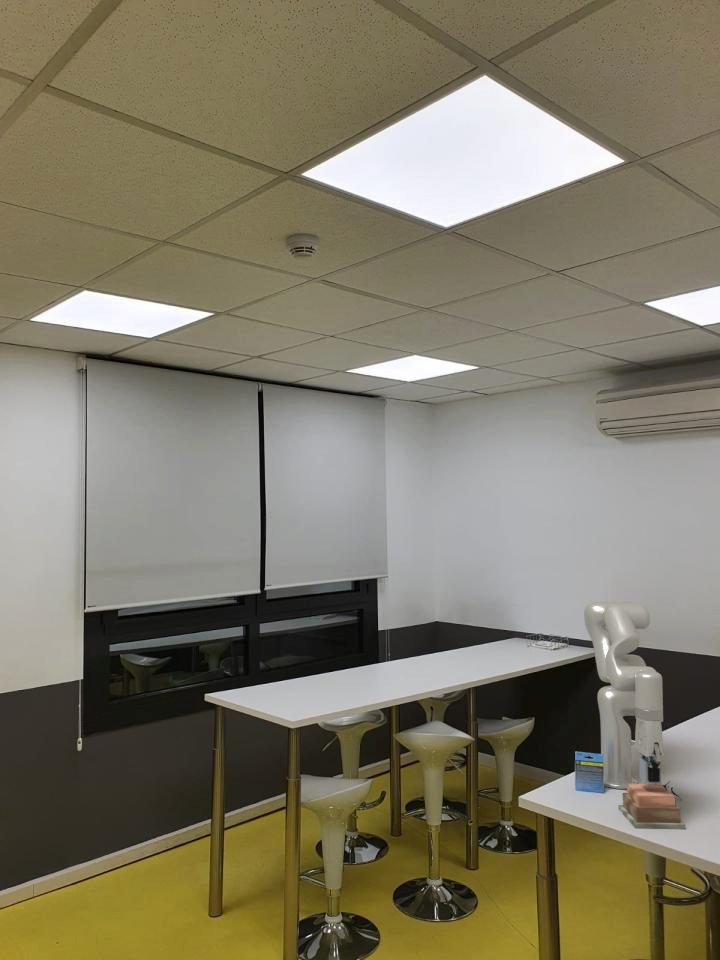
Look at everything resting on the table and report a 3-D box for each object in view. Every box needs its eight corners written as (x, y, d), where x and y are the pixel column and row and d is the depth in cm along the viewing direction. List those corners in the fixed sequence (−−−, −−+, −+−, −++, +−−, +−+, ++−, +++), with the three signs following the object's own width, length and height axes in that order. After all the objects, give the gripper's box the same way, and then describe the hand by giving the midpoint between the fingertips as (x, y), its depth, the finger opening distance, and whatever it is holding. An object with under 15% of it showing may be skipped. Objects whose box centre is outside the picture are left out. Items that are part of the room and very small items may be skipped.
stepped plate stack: (618, 809, 219) (618, 781, 220) (665, 810, 219) (665, 782, 219) (635, 828, 205) (634, 798, 206) (685, 829, 205) (684, 799, 205)
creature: (685, 806, 225) (671, 792, 233) (687, 790, 224) (673, 776, 232) (661, 808, 224) (648, 793, 231) (663, 791, 223) (649, 777, 231)
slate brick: (639, 778, 215) (639, 755, 215) (655, 778, 215) (654, 755, 215) (645, 783, 210) (645, 760, 211) (661, 783, 210) (660, 760, 211)
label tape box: (603, 789, 236) (603, 750, 237) (604, 793, 232) (603, 754, 233) (575, 786, 238) (574, 748, 239) (575, 790, 234) (574, 751, 235)
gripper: (626, 707, 222) (627, 769, 221) (647, 721, 206) (648, 788, 204) (651, 708, 222) (652, 769, 221) (673, 722, 205) (675, 788, 204)
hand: (650, 777), depth 213 cm, fingers closed on slate brick, 4 cm apart
